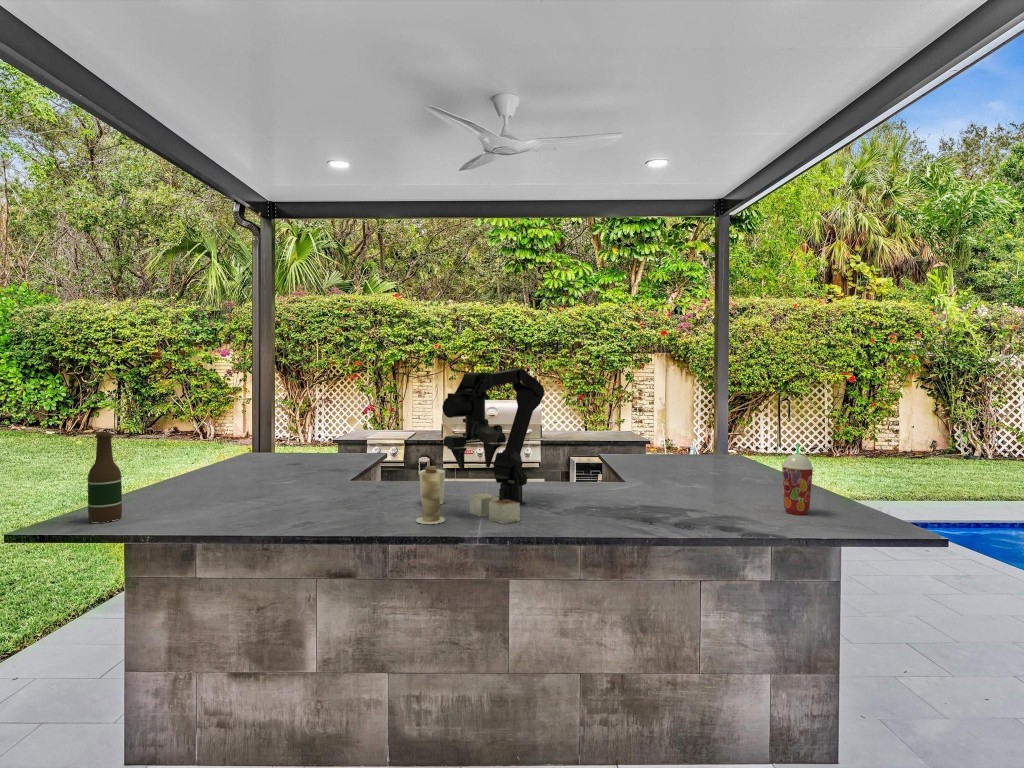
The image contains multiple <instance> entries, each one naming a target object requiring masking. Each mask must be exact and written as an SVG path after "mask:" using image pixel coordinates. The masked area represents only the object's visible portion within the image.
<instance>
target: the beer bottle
mask: <svg viewBox="0 0 1024 768" xmlns="http://www.w3.org/2000/svg"><path fill="white" fill-rule="evenodd" d="M112 437H113V434H112V432H107V431H104V432H98V433H96V434H95V438H96V452H95V461H94V463H93V465H92V466H91V468H90V470H89V472H88V475H87V516H88V517H87V518H88V521H89V520H90V521H92V522H107V521H112V520H116V519H119V518H121V517H122V516H123V500H122V499H123V498H122V497H123V495H122V494H123V493H122V492H123V491H122V490H123V489H122V473H121V469H120V468H119V466H118V465H117V464H116V462H115V461H114V456H113V447H112ZM121 519H122V518H121Z"/></svg>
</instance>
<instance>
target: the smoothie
mask: <svg viewBox="0 0 1024 768" xmlns="http://www.w3.org/2000/svg"><path fill="white" fill-rule="evenodd" d="M795 452H796V453H793V454H790V455H789V456H788V455H787V457H786V458H785V460H784V461H783V463H782V464H781V468H782V469H781V471H782V472H781V473H782V491H783V493H782V494H783V507H784V509H785V512H786V513H787V514H790V515H795V516H804V515H807V514H808V513H809V512H808V511H809V510H810V508H811V507H810V506H811V498H812V497H811V495H812V494H811V493H812V484H813V483H812V481H813V472H814V466H813V465H812V463H811V461H810V459H809V458H808V457H807V456H805V455H803V454H800V445H799V444H796V451H795Z"/></svg>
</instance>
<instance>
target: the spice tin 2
mask: <svg viewBox="0 0 1024 768" xmlns="http://www.w3.org/2000/svg"><path fill="white" fill-rule="evenodd" d="M520 505H521V504H520V503H518V502H515V501H512V500H508V499H504V500H498V501H491V502H489V516H488V520H489V519H490V520H489V521H491V520H492V521H491V522H494V521H495V523H497V522H498V523H497V524H500V523H501V524H500V525H504V524H503V523H506V524H510V523H509V522H511V523H516V522H515V521H517V522H520V519H521V518H520V517H521V516H520V514H521V513H520V512H521V511H520V509H521V507H520Z"/></svg>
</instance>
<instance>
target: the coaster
mask: <svg viewBox="0 0 1024 768" xmlns="http://www.w3.org/2000/svg"><path fill="white" fill-rule="evenodd" d="M444 521H445V522H446V518H444V517H443V516H440V520H438V521H434V522H426V521H423V520H422V516H421V517H418V518H416V519H415V523H416V522H418V523H421V524H420V525H423V524H435V525H439V524H438V523H441V524H443V523H442V522H444ZM445 522H444V523H445ZM418 523H417V524H418Z"/></svg>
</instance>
